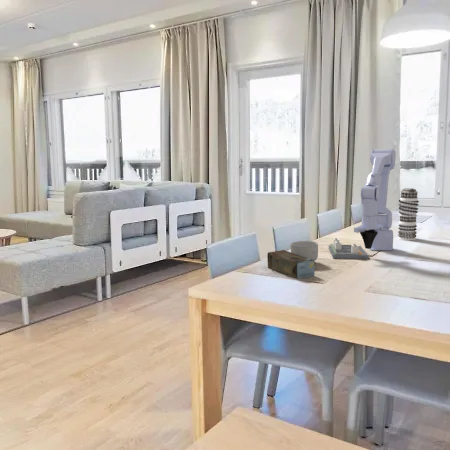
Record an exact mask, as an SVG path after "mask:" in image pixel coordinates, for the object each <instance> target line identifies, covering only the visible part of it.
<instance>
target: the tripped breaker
mask: <svg viewBox="0 0 450 450" xmlns="http://www.w3.org/2000/svg"><path fill="white" fill-rule="evenodd" d="M350 245H351V253H358V249H359V246H360V245H358V244H356V243H352V244H350Z"/></svg>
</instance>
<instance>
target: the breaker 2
mask: <svg viewBox="0 0 450 450" xmlns="http://www.w3.org/2000/svg"><path fill="white" fill-rule="evenodd" d="M341 245H342V241H335V250H341Z"/></svg>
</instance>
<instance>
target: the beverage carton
mask: <svg viewBox="0 0 450 450" xmlns="http://www.w3.org/2000/svg"><path fill="white" fill-rule="evenodd" d="M315 261H316V260H315ZM315 261H314V260H312V259H309V258H306V257H303V256H300V255H297V254H294V253H291V251H288V250H285V249H282V250H275V251H269V252H267V268H269V269H272V270H273V271H276V272H279V273H282V274H284V273H285V274H284V275H287V274H288V275H287V276H289V275H290V276H289V277H292V276H293V278H295V277H296V278H295V279H303V278H302V277H304V278H309V277H308V276H310V277H315V270H316V269H315Z"/></svg>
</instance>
